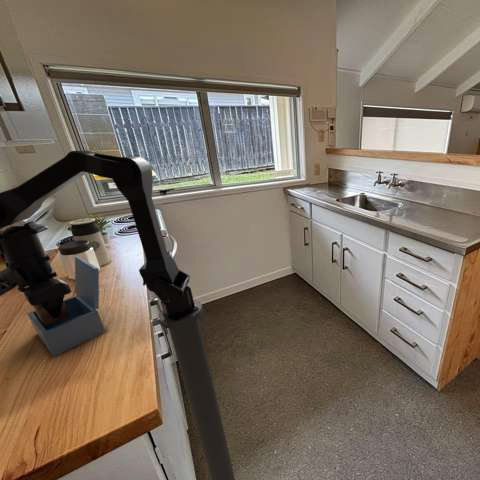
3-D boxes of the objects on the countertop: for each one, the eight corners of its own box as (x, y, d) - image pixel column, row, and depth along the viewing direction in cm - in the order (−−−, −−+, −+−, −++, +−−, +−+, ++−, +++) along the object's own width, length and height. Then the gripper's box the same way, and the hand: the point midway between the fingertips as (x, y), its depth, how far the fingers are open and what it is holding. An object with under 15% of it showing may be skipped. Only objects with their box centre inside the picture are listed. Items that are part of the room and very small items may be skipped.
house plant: (103, 254, 111) (91, 218, 105) (72, 254, 112) (58, 218, 106) (127, 242, 125) (117, 209, 119) (100, 242, 125) (88, 210, 119)
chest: (53, 356, 57) (42, 334, 55) (37, 334, 64) (26, 313, 62) (105, 331, 65) (97, 310, 62) (85, 313, 72) (77, 294, 69)
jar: (69, 282, 88) (55, 251, 84) (68, 274, 94) (56, 244, 90) (102, 274, 94) (91, 243, 90) (99, 267, 100) (89, 238, 95)
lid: (94, 268, 61) (98, 268, 61) (74, 256, 68) (78, 256, 68) (94, 309, 62) (98, 308, 63) (75, 293, 69) (79, 292, 70)
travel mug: (85, 263, 103) (69, 220, 97) (110, 258, 108) (96, 216, 101) (84, 270, 97) (66, 225, 91) (110, 264, 102) (95, 221, 95)
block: (64, 309, 64) (57, 294, 62) (69, 315, 62) (63, 300, 60) (39, 319, 61) (31, 303, 59) (44, 326, 58) (36, 309, 57)
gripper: (-41, 258, 54) (-6, 319, 59) (-29, 281, 44) (11, 351, 50) (34, 241, 63) (58, 296, 68) (57, 258, 53) (84, 320, 58)
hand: (53, 313), depth 61 cm, fingers closed on block, 4 cm apart
